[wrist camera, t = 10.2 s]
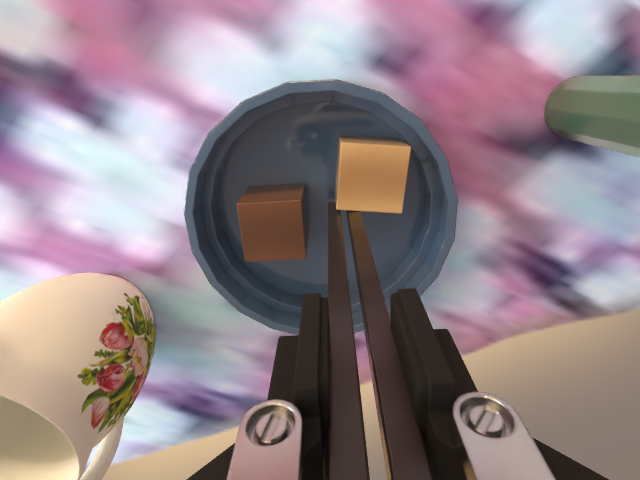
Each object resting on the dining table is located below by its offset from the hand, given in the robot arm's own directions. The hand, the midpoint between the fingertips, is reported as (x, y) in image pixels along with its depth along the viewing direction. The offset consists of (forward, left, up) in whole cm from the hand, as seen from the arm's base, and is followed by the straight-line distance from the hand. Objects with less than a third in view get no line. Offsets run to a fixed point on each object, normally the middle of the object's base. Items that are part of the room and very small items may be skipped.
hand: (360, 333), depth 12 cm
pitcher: (+10, -19, -17) cm, 28 cm away
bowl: (+1, -1, -17) cm, 17 cm away
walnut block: (+1, -4, -16) cm, 17 cm away
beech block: (-2, +2, -16) cm, 16 cm away
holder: (-5, +16, -17) cm, 23 cm away
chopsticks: (+1, 0, -15) cm, 15 cm away
